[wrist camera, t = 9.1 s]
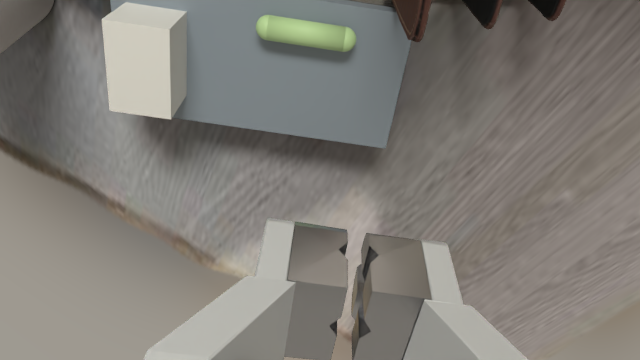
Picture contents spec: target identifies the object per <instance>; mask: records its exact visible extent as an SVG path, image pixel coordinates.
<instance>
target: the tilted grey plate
mask: <svg viewBox="0 0 640 360" xmlns="http://www.w3.org/2000/svg"><path fill="white" fill-rule="evenodd" d="M102 28H103V39H104V51H105V62H106V74H107V85H108V97H109V108H110V111H115V112H122V113H129V114H136V115H143V116H150V117H156V118H163V119H170V120H171V119H172V118H177V119H184V120H191V121H198V122H205V123H212V124H219V125H226V126H233V127H239V128H246V129H253V130H260V131H267V132H274V133H281V134H288V135H295V136H302V137H309V138H316V139H323V140H329V141H336V142H343V143H350V144H357V145H364V146H371V147H378V148H385V149H386V145H387V140H388V136H389V132H390V128H391V124H392V120H393V115H394V111H395V107H396V103H397V99H398V95H399V91H400V86H401V82H402V78H403V74H404V70H405V66H406V61H407V57H408V53H409V49H410V45H411V41H412V40H408V39H407V36H406V34H405V32H404V29H403V27H402V25H401V23H400V20H399V18H398V15H397V12H396V9H395V8H393V7H387V6H380V5H374V4H367V3H361V2H355V1H348V0H111V13H110V14H108V15H107V16H106V17H104V18H103V19H102Z"/></svg>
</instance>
